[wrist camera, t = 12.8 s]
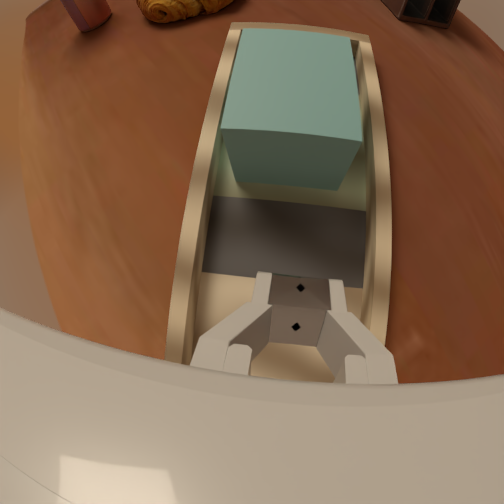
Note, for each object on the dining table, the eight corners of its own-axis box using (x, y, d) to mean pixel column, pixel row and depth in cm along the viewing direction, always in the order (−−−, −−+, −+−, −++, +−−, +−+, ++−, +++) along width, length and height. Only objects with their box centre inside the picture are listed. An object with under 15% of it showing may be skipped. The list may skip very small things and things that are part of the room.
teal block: (337, 190, 22) (362, 141, 15) (235, 181, 23) (220, 128, 16) (335, 95, 24) (349, 37, 17) (249, 88, 25) (243, 28, 18)
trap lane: (353, 436, 19) (363, 452, 16) (173, 417, 20) (159, 431, 17) (362, 54, 26) (368, 35, 23) (234, 42, 27) (231, 22, 24)
